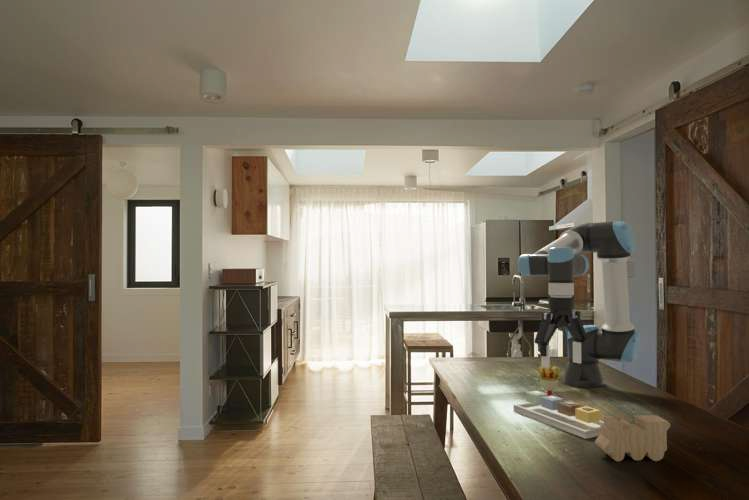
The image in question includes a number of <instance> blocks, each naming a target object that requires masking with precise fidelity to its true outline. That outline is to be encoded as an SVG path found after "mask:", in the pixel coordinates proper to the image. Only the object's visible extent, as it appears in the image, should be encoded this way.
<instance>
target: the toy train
mask: <svg viewBox="0 0 749 500" xmlns="http://www.w3.org/2000/svg"><path fill="white" fill-rule="evenodd" d="M603 421H604V424H601V428H600V435H599V436H597V438H596V439H595V441H594V444H595V445H596V446H597V447H599V448H600V450H602V451H603V452H604V453H605V454H607V455H608V456H609V457H610V458H611V459H613V460H614V461H616V462H622V461H623V460H624V458H625V455H626V456H628V457H630V458H631V459H633V460H634V461H642V460H643V459H644V458H645V457H646V458H649V459H650V460H652V461H654V462H658V461H659V462H660V461H661V460H662V459H664V456H665V452H666V451H667V450H668V441H667V440H668V436H667V435H668V434H667V432H668V430H669V429H670V428H671V426H672V424H671V422H669V421H668V420H666V419H664V418H662V417H660V416H659V415H656V414H653V415H652V414H651V415H650V414H649V415H647V414H646V415H643V414H642V415H641V414H639V415H638V414H637V415H635V416H634V423H630V422H629V421H627V420H625V419H623V418H622V419H620V420H618V419H616V418H614V417H613V416H611V415H609V414H608V415H603Z"/></svg>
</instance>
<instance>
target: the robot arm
mask: <svg viewBox="0 0 749 500" xmlns="http://www.w3.org/2000/svg"><path fill="white" fill-rule="evenodd" d="M636 244H637V243H636V236H635V233H634V229H633V227H632V225H631V224H630V223H629V222H627V221H615V220H614V221H602V222H585V223H582V224H579V225H578V224H577V225H576V226H574V227H571V228H569V229H567V230H565V231H563V232H562V233H560V234H559V237H558V239H555V240H553V241H551V242H550V243H549V244H547V245H545V246H544V247H542V248H541V249H539V250H537V251H535V252H534V253H523V254H521V255H520V256H519V257H518V258H517V259H518V260H517V270H518V272H519V273H520V274H521V275H522V276H529V277H548V280H547V281H548V284H547V285H548V287H547V288H548V292H547V293H548V295H549V297H548V305H547V306H548V307H547V308H548V309H549V310H550V312H542V313H541V322H540V324H539V327H538V330H537V333H536V335H535V338H534V341H533V342H534V343H535V344H537V345H538V346H539V356H540V357H541V359H540V362H541V365H540V366H543V367H547V368H550V364H551V363H550V362H551V361H550V360H551V359H550V357H551V356H550V355H551V353H550V351H551V349H550V348H551V346H550V345H549V343H550V341H551V340H552V338H553V336H554V335H555V333H556V331H557V330H558V329H559V328H563V327H566V329H567V338H566V339H567V340H566V341H567V365H566V368H565V372H564V374H563V383H565V384H566V385H569V386H571V387H572V386H573V387H579V388H600V387H603V386H604V385H605V381H604V379H605V378H604V377H603V374H602V371H601V367H600V361H599V360H603V361H604V360H605V361H612V362H620V363H631V364H632V363H634V362H635V361H636V360H637V358H638V357H639V353H640V349H641V345H642V344H641V343H642V342H641V340H642V337H641V334H640V332H636V331H635V325H633V324H632V323H631V321H630V305H629V304H630V301H629V286H628V284H629V283H628V268H627V267H628V265H627V260H629V259H630V258H631V256H632V255H631V253H634V251H635V250H636ZM581 253H592V254H594V253H596V257H597V259H598V260H599V261H600V262H601V269H602V270H601V271H602V273H601V274H602V287H603V306H604V318H605V319H604V320H605V322H604V323H603V324H602V325H601V329H600V327H599V325H597V324H584V325H583V322H582V319H581V312H580V311H579V310H578V311H577V310H574V308H575V298H574V297H573V296H574V295H575V281H574V279H575V277H577V278H579V277H581V276H583V275H585V274H586V273H587V272H588V271H589V268H590V262H589V259H588V258H587V257H586V256H585V255H583V254H581Z"/></svg>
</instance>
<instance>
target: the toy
mask: <svg viewBox="0 0 749 500" xmlns="http://www.w3.org/2000/svg"><path fill="white" fill-rule="evenodd" d="M537 370H538V372H539V379H540V380H539V381H540V385H541V387H542V388H543V389H544V390H546V391H547V392H546V393H547V395H548V396H551V395H553V396H555V395H554V393H553V391H555V390H556V389H557V388H558V387H559V384H560V383H559V382H560V379H559V374H560V372H561V370H560V368H559V367H558V366H556V365H552V364H551V363H550V368H547V367H543V366H541V365H540V366H539V367H538V369H537Z"/></svg>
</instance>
